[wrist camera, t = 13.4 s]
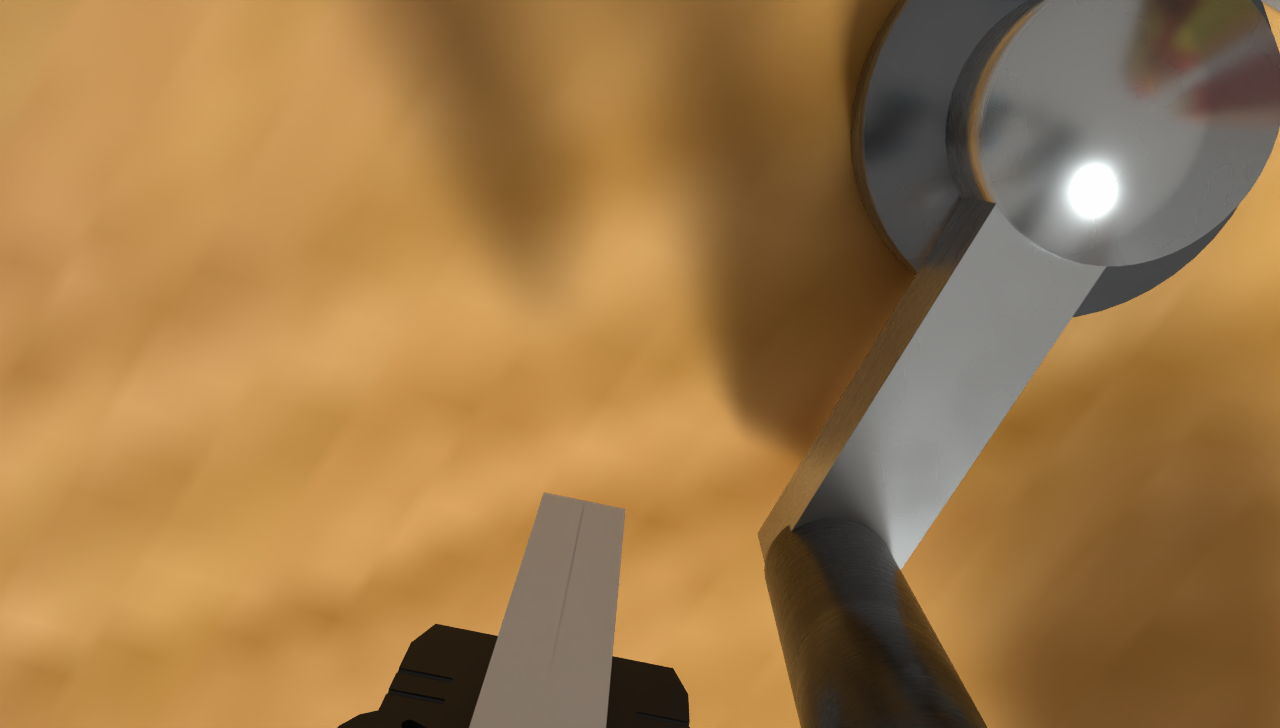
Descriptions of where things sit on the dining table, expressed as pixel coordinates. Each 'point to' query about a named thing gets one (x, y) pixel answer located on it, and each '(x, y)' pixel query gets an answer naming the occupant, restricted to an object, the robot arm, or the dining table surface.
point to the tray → (1273, 4)
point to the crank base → (915, 138)
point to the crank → (1004, 310)
